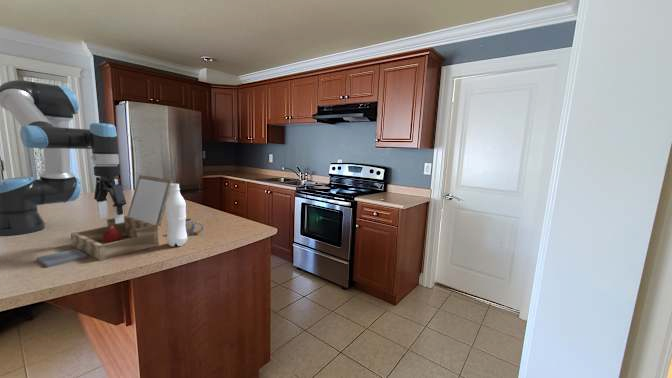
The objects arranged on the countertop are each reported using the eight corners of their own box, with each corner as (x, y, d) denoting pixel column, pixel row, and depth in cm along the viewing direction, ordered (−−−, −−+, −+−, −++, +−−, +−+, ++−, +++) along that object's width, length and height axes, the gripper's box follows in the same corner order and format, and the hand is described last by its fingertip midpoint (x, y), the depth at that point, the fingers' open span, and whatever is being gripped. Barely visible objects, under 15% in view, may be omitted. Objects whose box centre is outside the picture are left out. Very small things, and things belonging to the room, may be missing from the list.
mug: (173, 235, 123) (172, 221, 122) (182, 231, 130) (181, 217, 129) (199, 237, 123) (198, 222, 122) (207, 232, 130) (206, 218, 129)
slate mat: (37, 260, 93) (36, 257, 93) (75, 251, 102) (75, 248, 102) (47, 267, 88) (47, 264, 88) (87, 257, 97) (86, 254, 97)
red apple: (111, 249, 105) (110, 229, 104) (99, 247, 106) (97, 227, 105) (126, 244, 111) (124, 225, 110) (114, 242, 112) (112, 223, 111)
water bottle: (191, 243, 115) (189, 183, 111) (176, 248, 108) (173, 185, 104) (178, 240, 117) (175, 182, 113) (163, 246, 110) (159, 184, 107)
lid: (139, 175, 125) (142, 175, 126) (127, 216, 123) (130, 216, 124) (170, 179, 113) (173, 180, 114) (158, 225, 110) (161, 226, 111)
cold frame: (72, 245, 107) (70, 225, 106) (128, 233, 124) (126, 216, 123) (100, 260, 95) (98, 238, 94) (158, 244, 111) (157, 225, 110)
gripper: (80, 164, 107) (85, 217, 110) (109, 167, 95) (115, 227, 97) (103, 163, 113) (108, 214, 116) (134, 166, 101) (138, 223, 104)
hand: (111, 220), depth 107 cm, fingers open, 13 cm apart
